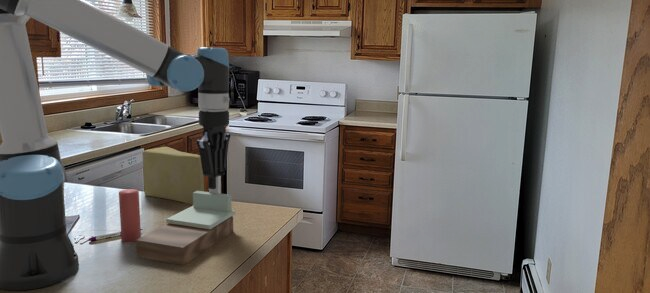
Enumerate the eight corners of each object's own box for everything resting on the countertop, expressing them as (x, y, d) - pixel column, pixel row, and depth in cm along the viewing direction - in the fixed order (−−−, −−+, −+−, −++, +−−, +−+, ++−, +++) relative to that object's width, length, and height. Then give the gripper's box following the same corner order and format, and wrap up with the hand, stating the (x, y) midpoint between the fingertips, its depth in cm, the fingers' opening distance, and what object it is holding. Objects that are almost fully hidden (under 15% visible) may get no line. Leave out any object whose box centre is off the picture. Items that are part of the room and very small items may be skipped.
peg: (132, 244, 116) (130, 195, 114) (117, 241, 118) (114, 193, 116) (144, 237, 121) (142, 190, 118) (130, 235, 122) (127, 188, 120)
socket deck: (183, 265, 106) (182, 247, 105) (136, 256, 109) (135, 239, 109) (233, 231, 126) (233, 216, 126) (192, 225, 130) (192, 210, 129)
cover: (210, 229, 115) (209, 208, 114) (166, 222, 119) (165, 203, 118) (235, 214, 126) (234, 195, 125) (194, 208, 130) (193, 190, 129)
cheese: (215, 202, 150) (214, 154, 148) (189, 209, 143) (188, 159, 140) (168, 189, 163) (167, 144, 160) (143, 195, 155) (140, 149, 152)
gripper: (213, 113, 117) (214, 208, 121) (239, 108, 129) (239, 195, 133) (186, 111, 119) (188, 205, 123) (214, 106, 131) (215, 191, 136)
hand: (215, 199), depth 128 cm, fingers closed
